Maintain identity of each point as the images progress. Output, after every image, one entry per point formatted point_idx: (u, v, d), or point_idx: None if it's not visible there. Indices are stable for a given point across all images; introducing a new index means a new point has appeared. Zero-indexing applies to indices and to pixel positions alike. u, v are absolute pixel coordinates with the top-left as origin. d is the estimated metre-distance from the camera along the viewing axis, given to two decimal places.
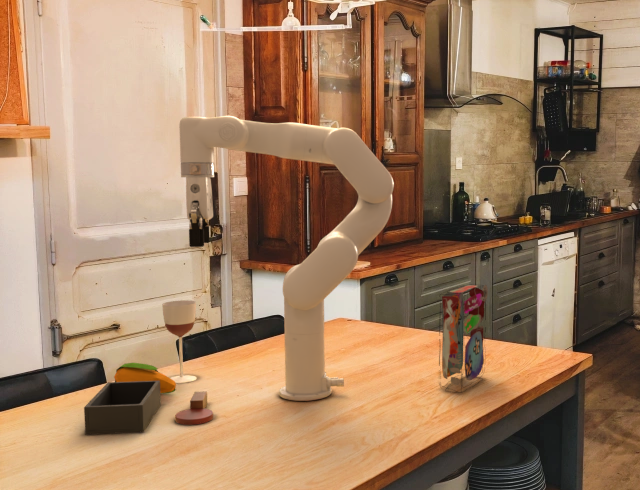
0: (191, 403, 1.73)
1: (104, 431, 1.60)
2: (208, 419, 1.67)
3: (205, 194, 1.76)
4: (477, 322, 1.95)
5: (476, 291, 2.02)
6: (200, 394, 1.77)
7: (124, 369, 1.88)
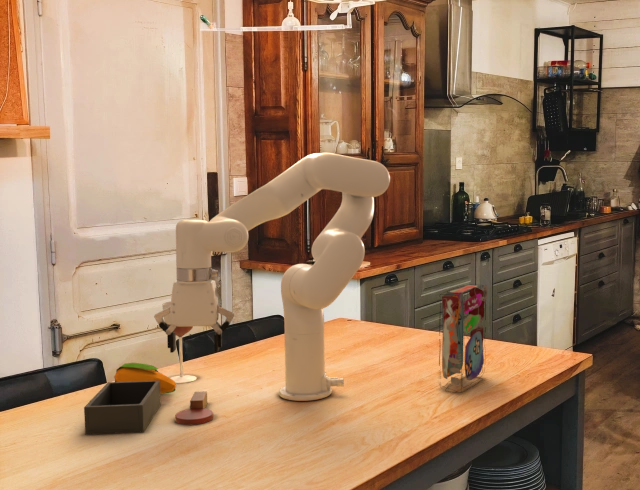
0: (191, 403, 1.73)
1: (104, 431, 1.60)
2: (208, 419, 1.67)
3: None
4: (477, 322, 1.95)
5: (476, 291, 2.01)
6: (200, 394, 1.77)
7: (124, 369, 1.88)
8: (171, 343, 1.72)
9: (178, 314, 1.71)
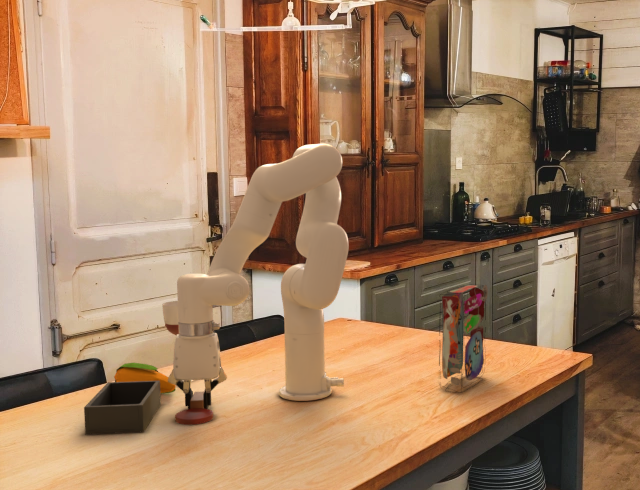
0: (191, 403, 1.73)
1: (104, 431, 1.60)
2: (208, 419, 1.67)
3: None
4: (477, 322, 1.95)
5: (476, 291, 2.01)
6: (200, 394, 1.77)
7: (124, 369, 1.88)
8: (189, 402, 1.74)
9: (181, 368, 1.72)
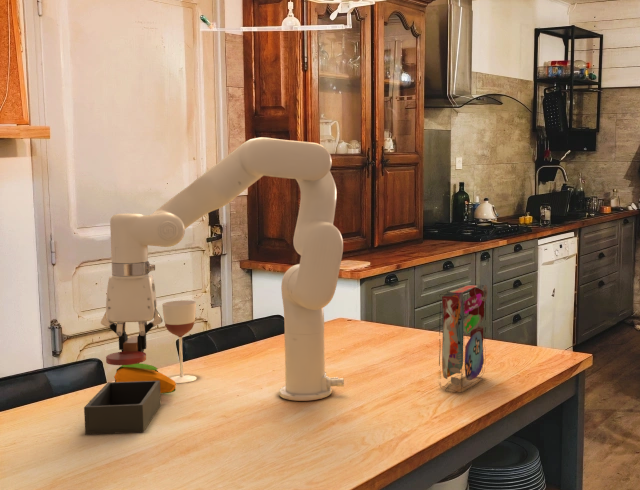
0: (124, 346, 1.68)
1: (104, 431, 1.60)
2: (140, 360, 1.63)
3: None
4: (477, 322, 1.95)
5: (476, 291, 2.01)
6: (135, 338, 1.73)
7: (124, 369, 1.88)
8: (122, 345, 1.69)
9: (114, 310, 1.68)
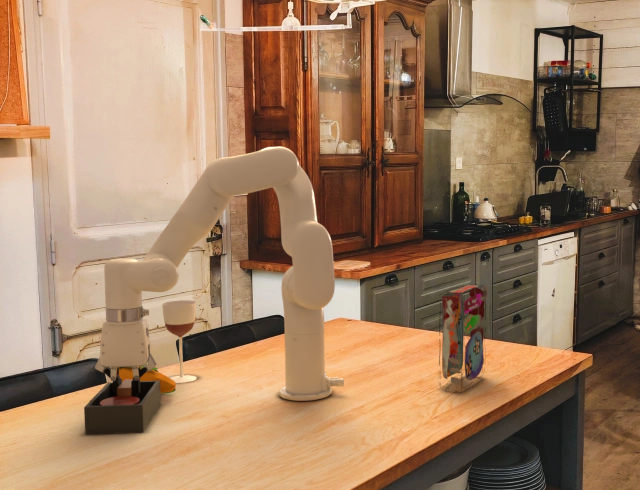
0: (118, 391, 1.69)
1: (104, 431, 1.60)
2: None
3: None
4: (477, 322, 1.95)
5: (476, 291, 2.01)
6: (129, 382, 1.74)
7: (124, 369, 1.88)
8: (116, 389, 1.70)
9: (108, 355, 1.68)
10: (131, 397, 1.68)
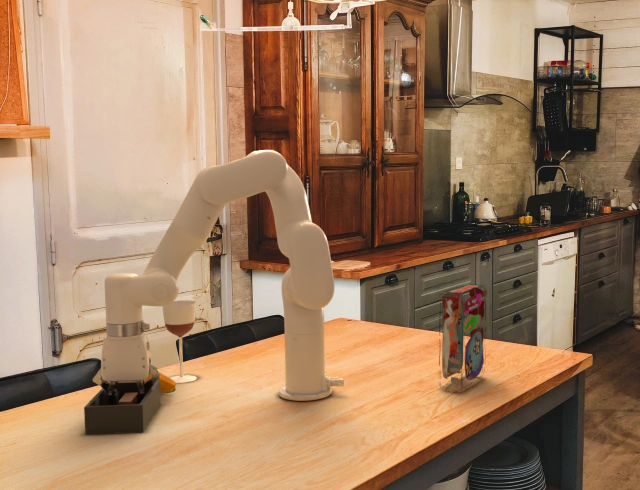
0: (119, 404, 1.69)
1: (104, 431, 1.60)
2: None
3: None
4: (477, 322, 1.95)
5: (476, 291, 2.01)
6: (130, 395, 1.74)
7: None
8: (113, 403, 1.70)
9: (109, 370, 1.69)
10: None
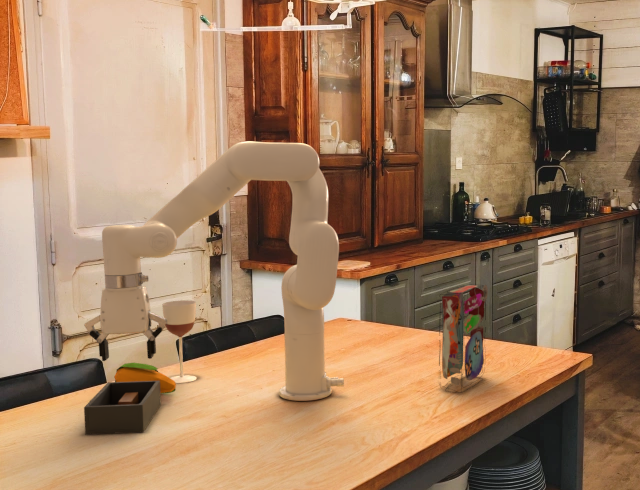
0: (119, 404, 1.69)
1: (104, 431, 1.60)
2: None
3: None
4: (477, 322, 1.95)
5: (476, 291, 2.01)
6: (130, 395, 1.74)
7: (124, 369, 1.88)
8: (103, 351, 1.69)
9: (108, 322, 1.68)
10: None
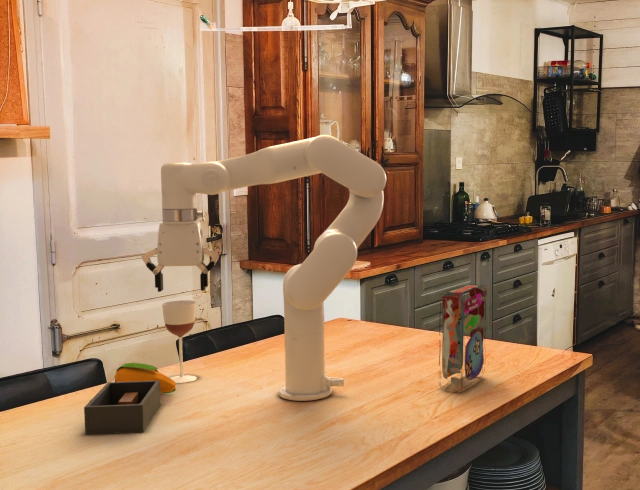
0: (119, 404, 1.69)
1: (104, 431, 1.60)
2: None
3: None
4: (477, 322, 1.95)
5: (476, 291, 2.01)
6: (130, 395, 1.74)
7: (124, 369, 1.89)
8: (158, 282, 1.78)
9: (165, 254, 1.76)
10: None
